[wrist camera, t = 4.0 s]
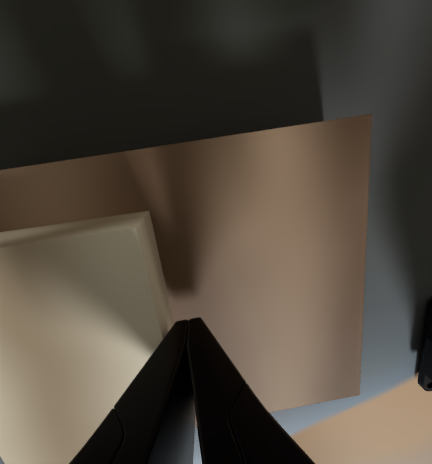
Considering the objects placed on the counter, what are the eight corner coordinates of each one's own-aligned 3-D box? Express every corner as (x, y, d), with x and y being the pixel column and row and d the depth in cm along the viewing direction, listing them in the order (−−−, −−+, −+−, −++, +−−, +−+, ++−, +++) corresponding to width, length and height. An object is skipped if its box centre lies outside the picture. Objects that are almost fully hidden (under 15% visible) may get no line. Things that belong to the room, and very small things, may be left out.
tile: (149, 210, 8) (135, 227, 6) (188, 392, 11) (187, 444, 9) (-39, 237, 8) (-113, 264, 6) (45, 417, 10) (12, 476, 8)
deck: (324, 124, 11) (372, 114, 8) (326, 347, 14) (359, 395, 11) (18, 171, 10) (-50, 177, 7) (101, 388, 14) (77, 449, 11)
